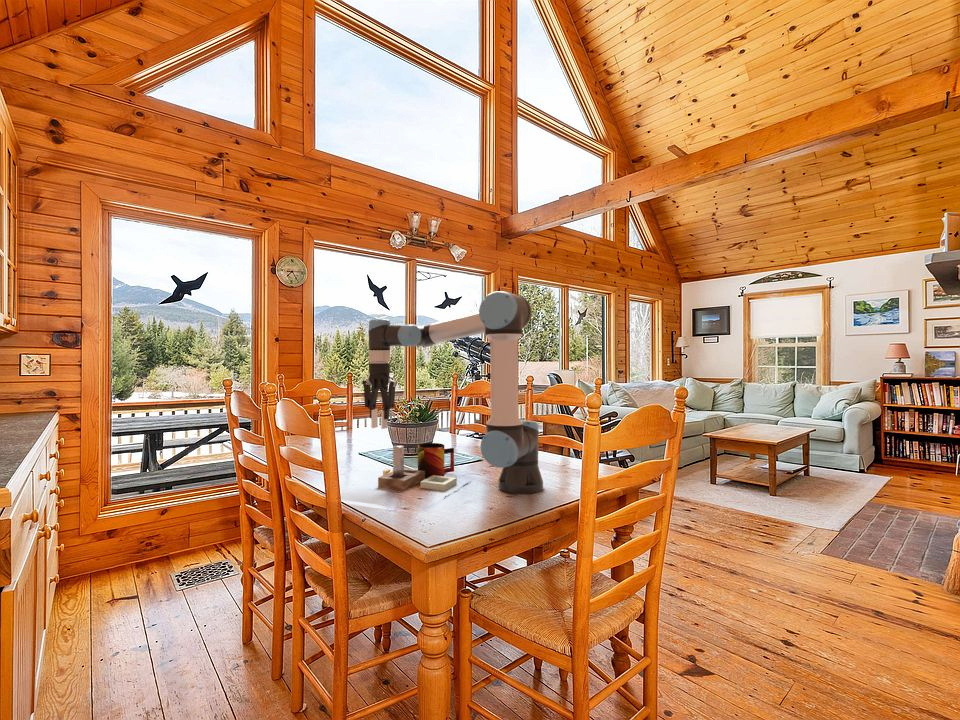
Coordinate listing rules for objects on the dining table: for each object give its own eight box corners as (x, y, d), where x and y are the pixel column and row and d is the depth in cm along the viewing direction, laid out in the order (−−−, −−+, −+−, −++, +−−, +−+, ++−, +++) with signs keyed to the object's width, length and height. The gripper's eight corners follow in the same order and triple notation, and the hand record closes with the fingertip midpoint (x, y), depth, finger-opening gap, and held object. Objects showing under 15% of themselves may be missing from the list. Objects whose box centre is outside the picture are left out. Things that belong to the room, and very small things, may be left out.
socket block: (425, 482, 171) (425, 470, 171) (404, 493, 158) (404, 480, 158) (400, 479, 175) (400, 468, 175) (378, 489, 162) (378, 477, 162)
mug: (454, 474, 182) (454, 442, 182) (435, 483, 170) (435, 449, 170) (432, 471, 187) (432, 440, 186) (412, 480, 174) (412, 446, 174)
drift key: (411, 481, 171) (411, 471, 171) (407, 483, 169) (407, 473, 169) (387, 478, 175) (387, 468, 175) (383, 480, 172) (383, 470, 172)
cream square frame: (456, 486, 166) (456, 477, 166) (444, 493, 157) (444, 484, 157) (433, 483, 169) (433, 475, 169) (420, 490, 161) (420, 481, 161)
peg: (405, 484, 165) (405, 445, 165) (400, 486, 162) (400, 447, 161) (396, 482, 166) (396, 445, 166) (390, 485, 163) (390, 447, 163)
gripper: (404, 362, 174) (404, 427, 175) (366, 362, 180) (366, 425, 181) (393, 363, 167) (393, 431, 168) (353, 362, 174) (353, 427, 174)
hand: (379, 427), depth 174 cm, fingers open, 3 cm apart
